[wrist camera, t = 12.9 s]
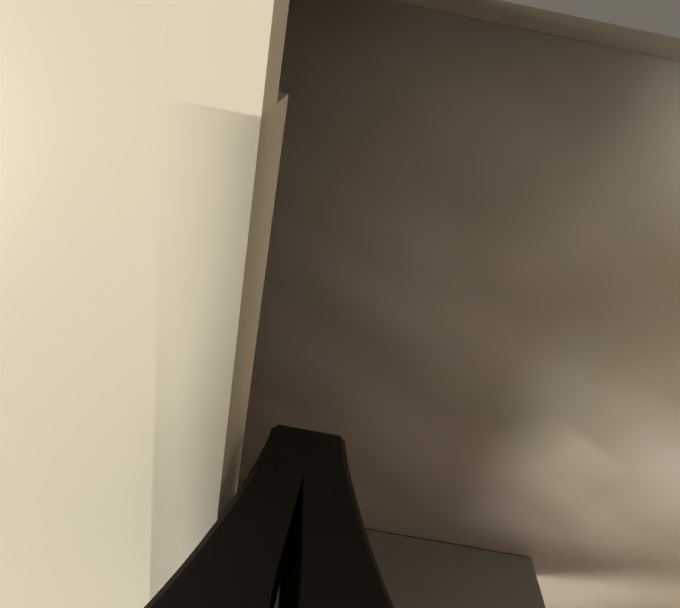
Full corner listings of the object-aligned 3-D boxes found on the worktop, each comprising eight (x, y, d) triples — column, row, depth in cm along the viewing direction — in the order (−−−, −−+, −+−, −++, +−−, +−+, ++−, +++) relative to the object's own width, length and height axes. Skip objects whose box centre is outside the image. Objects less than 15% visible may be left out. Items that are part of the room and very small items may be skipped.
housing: (521, 575, 20) (579, 794, 14) (-205, 450, 19) (-450, 632, 13) (811, 32, 11) (1238, 44, 6) (-476, -244, 10) (-1465, -553, 5)
